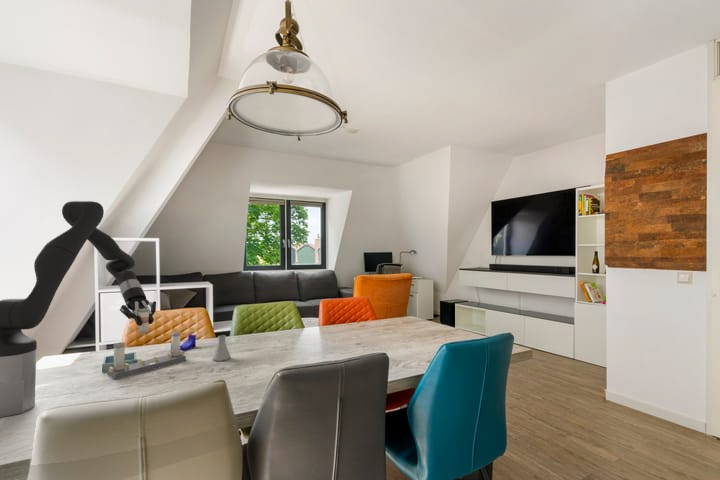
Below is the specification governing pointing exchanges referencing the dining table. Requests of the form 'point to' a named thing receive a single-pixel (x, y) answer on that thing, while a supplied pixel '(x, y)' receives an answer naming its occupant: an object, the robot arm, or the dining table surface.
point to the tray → (109, 361)
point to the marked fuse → (144, 320)
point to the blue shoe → (188, 343)
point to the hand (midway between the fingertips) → (146, 323)
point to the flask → (221, 350)
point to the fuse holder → (146, 365)
